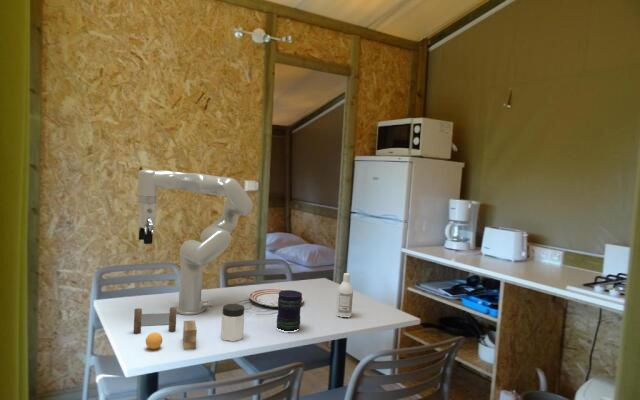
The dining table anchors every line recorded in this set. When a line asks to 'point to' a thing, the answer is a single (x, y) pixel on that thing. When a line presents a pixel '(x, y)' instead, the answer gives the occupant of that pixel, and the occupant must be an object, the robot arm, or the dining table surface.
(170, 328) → the right post
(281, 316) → the storage jar
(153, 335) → the ball
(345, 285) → the bath foam
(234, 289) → the dining table surface
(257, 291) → the dinner plate
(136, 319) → the left post
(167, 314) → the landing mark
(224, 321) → the jar
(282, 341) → the dining table surface
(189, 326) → the block
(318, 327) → the dining table surface
